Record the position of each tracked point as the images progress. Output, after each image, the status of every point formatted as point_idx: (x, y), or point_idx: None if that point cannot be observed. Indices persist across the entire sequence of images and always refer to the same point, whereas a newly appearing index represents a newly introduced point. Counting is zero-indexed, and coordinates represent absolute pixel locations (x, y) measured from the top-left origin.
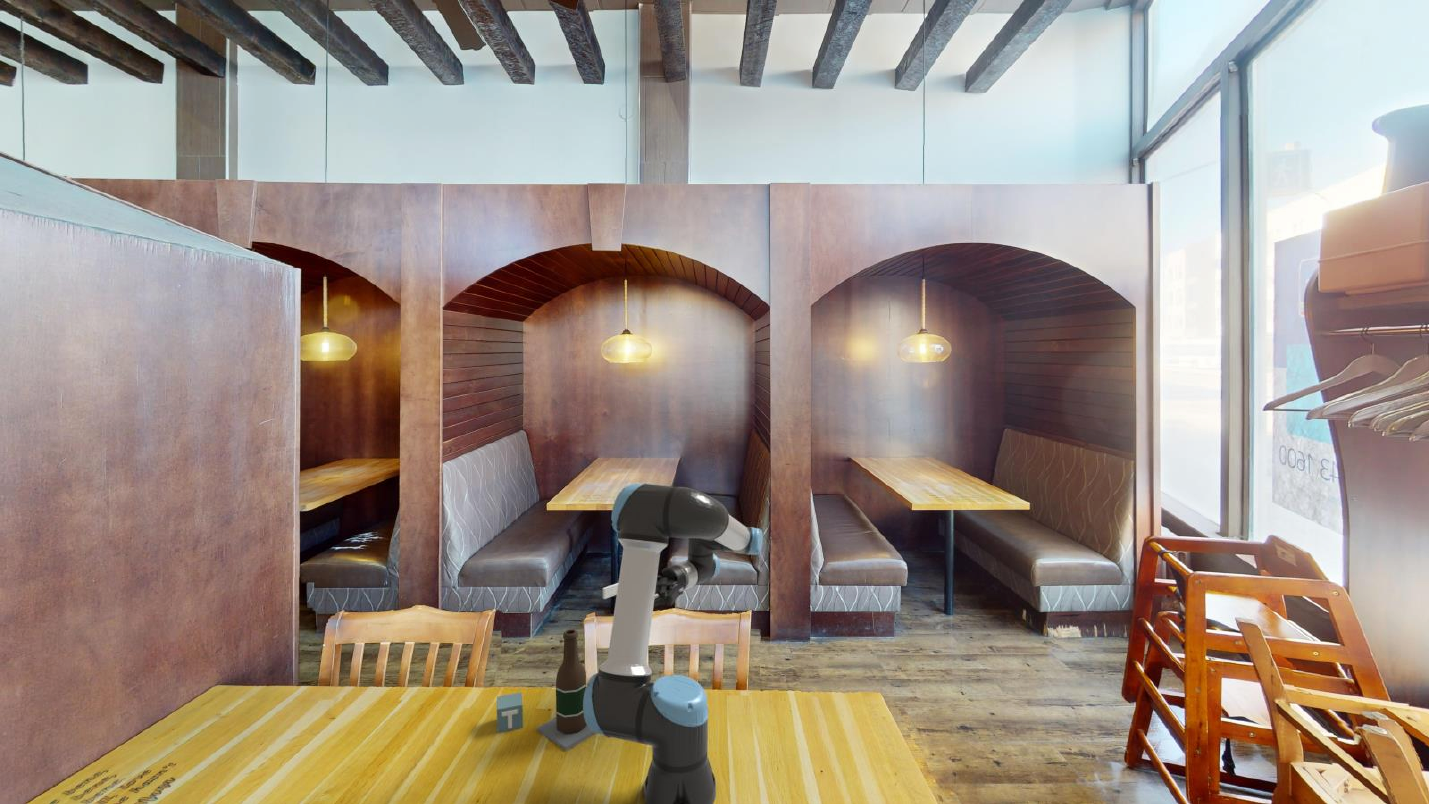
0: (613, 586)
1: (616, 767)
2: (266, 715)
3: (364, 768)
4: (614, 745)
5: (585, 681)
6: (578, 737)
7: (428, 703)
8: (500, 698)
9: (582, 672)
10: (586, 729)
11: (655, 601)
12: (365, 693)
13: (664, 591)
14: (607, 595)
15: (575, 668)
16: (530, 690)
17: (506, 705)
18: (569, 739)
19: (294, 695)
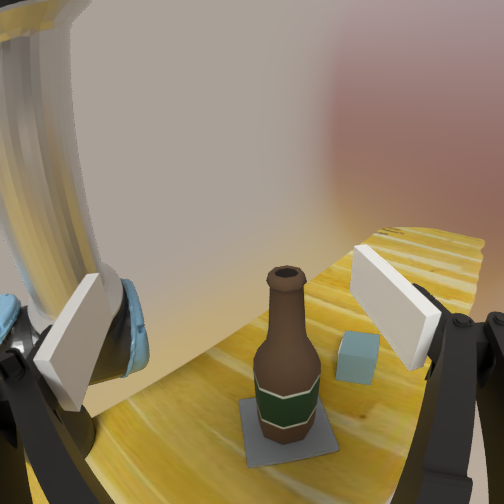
0: (382, 276)
1: (152, 427)
2: (445, 251)
3: (345, 281)
4: (193, 452)
5: (259, 382)
6: (247, 419)
7: None
8: (372, 337)
9: (261, 363)
10: (258, 436)
11: (41, 336)
12: (466, 283)
13: (22, 423)
14: (358, 289)
15: (265, 343)
16: None
17: (349, 339)
18: (253, 409)
19: (469, 258)
